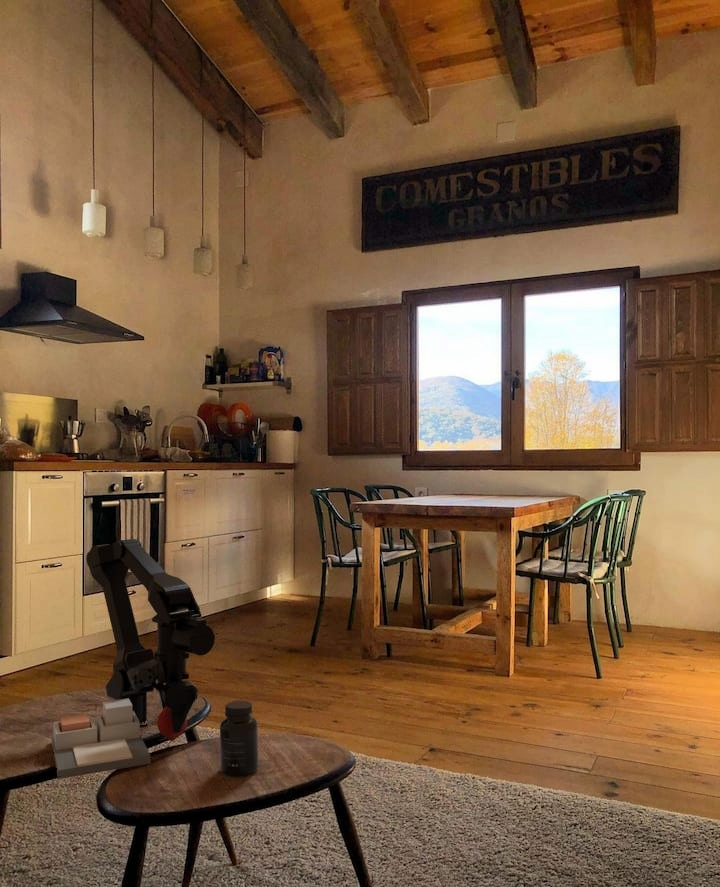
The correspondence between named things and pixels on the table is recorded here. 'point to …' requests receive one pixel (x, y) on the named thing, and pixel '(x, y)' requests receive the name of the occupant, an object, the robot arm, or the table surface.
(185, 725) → the onion
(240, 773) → the supplement bottle
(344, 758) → the table surface
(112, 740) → the board
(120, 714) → the block
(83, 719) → the reddish-brown block
